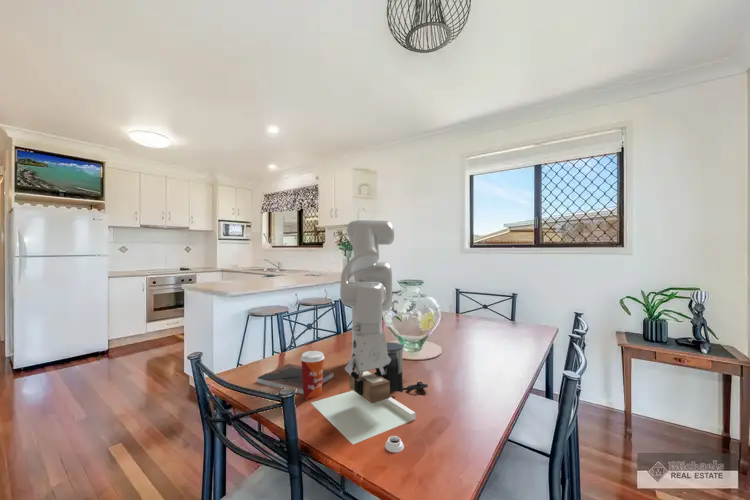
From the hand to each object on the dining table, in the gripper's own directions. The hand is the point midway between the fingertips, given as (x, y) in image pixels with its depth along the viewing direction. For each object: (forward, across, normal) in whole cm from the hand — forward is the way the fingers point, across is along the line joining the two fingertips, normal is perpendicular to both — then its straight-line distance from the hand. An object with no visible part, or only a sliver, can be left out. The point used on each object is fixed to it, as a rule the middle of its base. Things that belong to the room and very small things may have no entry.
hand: (368, 389), depth 91 cm
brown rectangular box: (+1, 0, 0) cm, 1 cm away
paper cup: (+7, -9, +20) cm, 23 cm away
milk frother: (+7, +19, +8) cm, 21 cm away
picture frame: (+8, -8, +36) cm, 38 cm away
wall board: (+7, -2, +2) cm, 8 cm away
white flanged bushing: (+8, -4, -17) cm, 19 cm away
